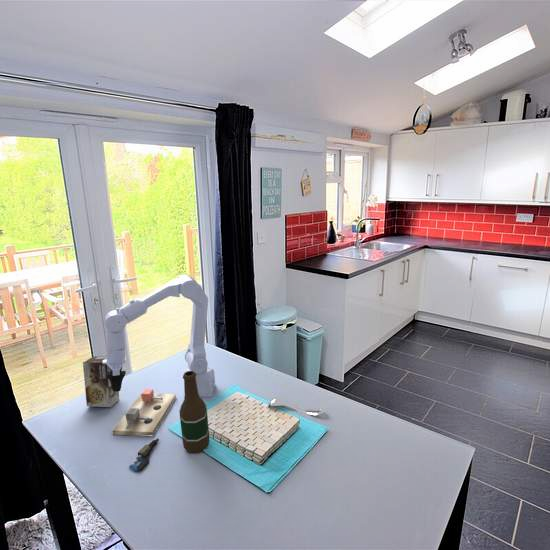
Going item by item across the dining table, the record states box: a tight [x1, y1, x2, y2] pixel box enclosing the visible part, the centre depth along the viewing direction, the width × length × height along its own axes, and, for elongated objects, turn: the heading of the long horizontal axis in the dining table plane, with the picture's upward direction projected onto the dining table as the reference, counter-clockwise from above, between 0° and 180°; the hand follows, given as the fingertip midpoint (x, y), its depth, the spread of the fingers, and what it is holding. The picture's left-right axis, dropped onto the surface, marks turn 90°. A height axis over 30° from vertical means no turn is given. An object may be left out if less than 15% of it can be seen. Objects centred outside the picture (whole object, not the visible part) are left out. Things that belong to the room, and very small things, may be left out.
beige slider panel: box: [112, 393, 177, 436], centre depth 121 cm, size 13×20×5 cm, turn 174°
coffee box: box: [82, 356, 120, 408], centre depth 128 cm, size 9×6×16 cm
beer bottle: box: [179, 371, 210, 455], centre depth 104 cm, size 8×8×24 cm
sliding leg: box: [140, 388, 163, 402], centre depth 127 cm, size 7×3×3 cm, turn 84°
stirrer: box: [267, 397, 325, 416], centre depth 122 cm, size 20×4×5 cm
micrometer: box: [129, 438, 160, 473], centre depth 104 cm, size 12×2×5 cm
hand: (116, 385), depth 121 cm, fingers open, 7 cm apart
